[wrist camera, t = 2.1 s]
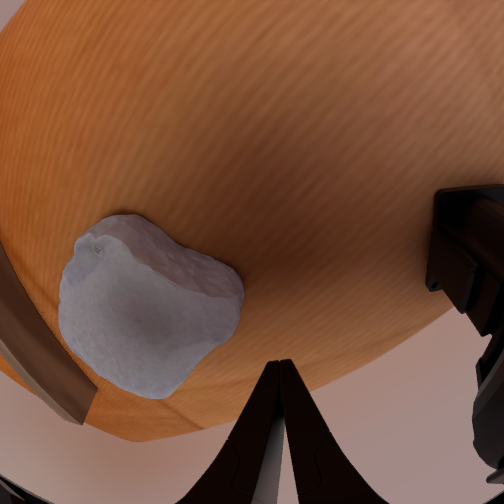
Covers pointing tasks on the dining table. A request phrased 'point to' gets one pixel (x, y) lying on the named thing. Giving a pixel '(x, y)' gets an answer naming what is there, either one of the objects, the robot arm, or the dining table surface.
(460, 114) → the dining table surface
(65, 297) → the stone block
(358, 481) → the robot arm
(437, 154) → the dining table surface
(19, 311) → the board
